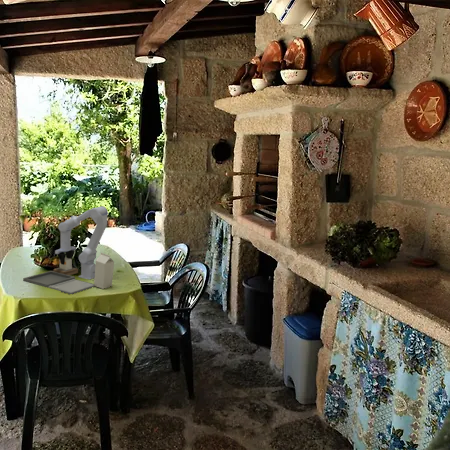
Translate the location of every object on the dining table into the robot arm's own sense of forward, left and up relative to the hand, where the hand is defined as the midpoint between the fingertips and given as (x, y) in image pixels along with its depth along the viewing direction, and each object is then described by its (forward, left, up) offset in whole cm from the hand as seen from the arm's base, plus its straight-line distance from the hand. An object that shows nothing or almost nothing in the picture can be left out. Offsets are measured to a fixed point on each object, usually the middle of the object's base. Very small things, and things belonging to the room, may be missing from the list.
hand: (65, 263), depth 305 cm
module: (0, 0, -3) cm, 3 cm away
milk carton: (-35, +5, -6) cm, 36 cm away
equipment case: (-13, +16, -6) cm, 22 cm away
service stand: (0, 0, -6) cm, 6 cm away
